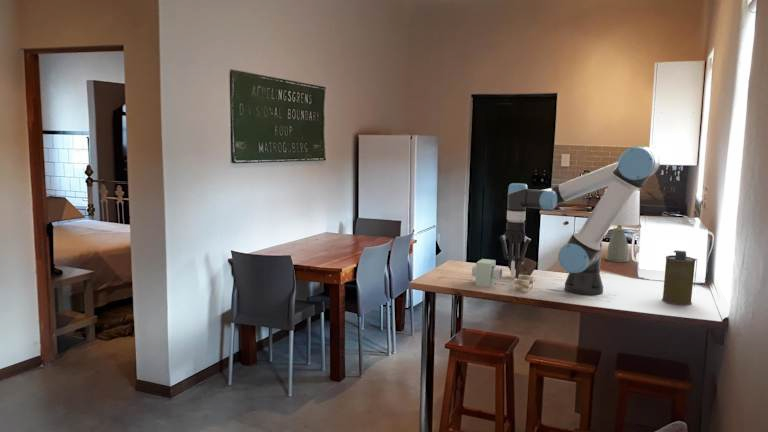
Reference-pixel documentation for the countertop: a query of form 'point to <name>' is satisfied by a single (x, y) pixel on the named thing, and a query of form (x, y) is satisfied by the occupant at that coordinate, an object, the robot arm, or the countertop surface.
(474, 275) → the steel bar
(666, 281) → the canister
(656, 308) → the countertop surface
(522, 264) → the rock
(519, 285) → the cradle
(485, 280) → the pale green block
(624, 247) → the lamp
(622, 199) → the robot arm
